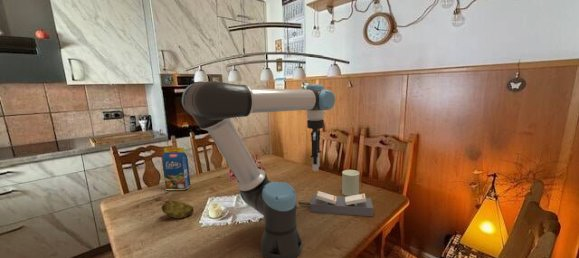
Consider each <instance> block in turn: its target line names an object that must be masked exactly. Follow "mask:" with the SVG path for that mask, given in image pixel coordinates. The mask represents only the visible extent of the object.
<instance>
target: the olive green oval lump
mask: <svg viewBox="0 0 579 258" xmlns="http://www.w3.org/2000/svg"><path fill="white" fill-rule="evenodd" d="M161 211H162V212H163V213H164V215H166V216H169V217H172V218H174V219H182V218H183V217H184V218H186V217H188V216H191V215H192V214H193V213H194V206H193V205H191V204H189V203H186V202H183V201H180V200H176V199H169V200H166V201H165V202H164V203H162V205H161Z"/></svg>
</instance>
